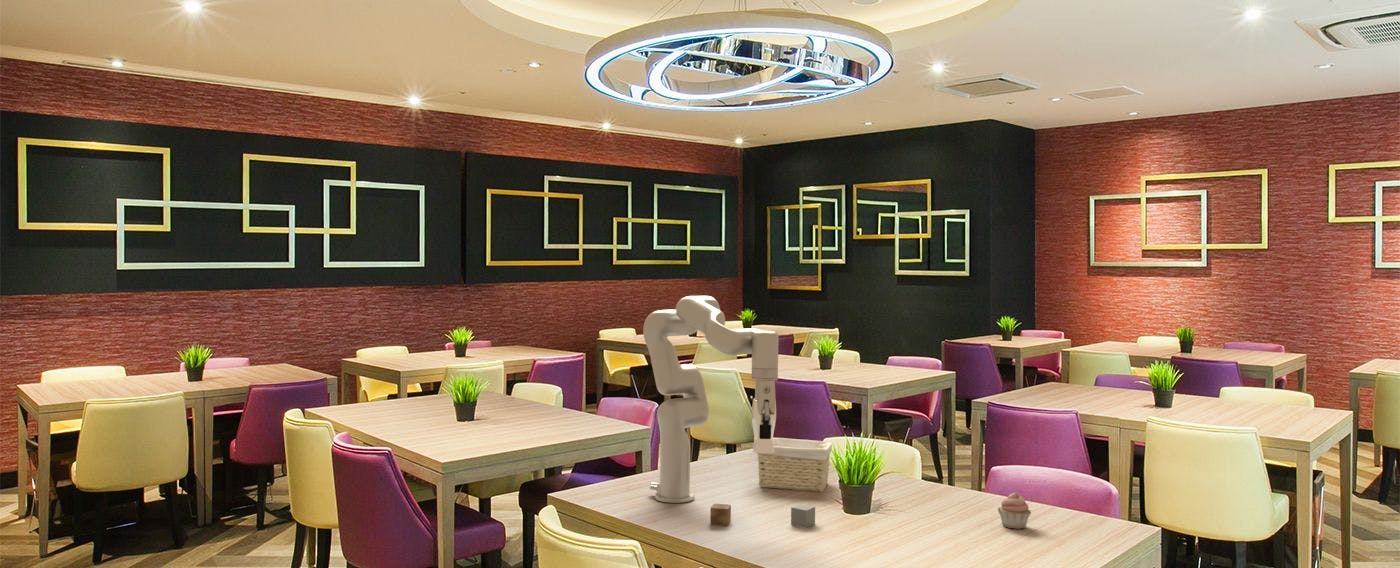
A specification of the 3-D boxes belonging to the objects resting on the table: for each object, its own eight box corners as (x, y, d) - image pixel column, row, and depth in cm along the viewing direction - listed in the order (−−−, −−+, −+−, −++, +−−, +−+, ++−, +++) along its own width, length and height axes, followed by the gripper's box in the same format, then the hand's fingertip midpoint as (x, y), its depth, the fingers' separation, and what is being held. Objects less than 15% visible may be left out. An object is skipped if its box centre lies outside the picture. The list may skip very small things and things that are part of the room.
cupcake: (1014, 532, 257) (1015, 497, 256) (990, 524, 265) (990, 490, 265) (1038, 528, 261) (1039, 494, 261) (1013, 520, 269) (1014, 486, 269)
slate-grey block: (790, 524, 262) (791, 507, 262) (800, 521, 266) (800, 504, 266) (806, 528, 259) (806, 510, 259) (814, 524, 263) (815, 506, 263)
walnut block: (710, 525, 261) (710, 507, 261) (713, 520, 266) (714, 503, 265) (727, 526, 260) (727, 509, 259) (730, 521, 264) (730, 504, 264)
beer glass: (773, 454, 258) (774, 401, 257) (749, 453, 259) (750, 400, 259) (776, 449, 264) (777, 398, 264) (753, 448, 266) (753, 397, 266)
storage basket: (832, 483, 314) (833, 440, 314) (826, 494, 299) (827, 449, 298) (764, 478, 320) (764, 436, 320) (754, 488, 305) (755, 444, 304)
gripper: (781, 377, 253) (780, 442, 253) (773, 370, 270) (772, 431, 270) (754, 377, 252) (753, 442, 253) (748, 370, 270) (747, 430, 270)
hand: (763, 435), depth 262 cm, fingers closed on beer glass, 6 cm apart
